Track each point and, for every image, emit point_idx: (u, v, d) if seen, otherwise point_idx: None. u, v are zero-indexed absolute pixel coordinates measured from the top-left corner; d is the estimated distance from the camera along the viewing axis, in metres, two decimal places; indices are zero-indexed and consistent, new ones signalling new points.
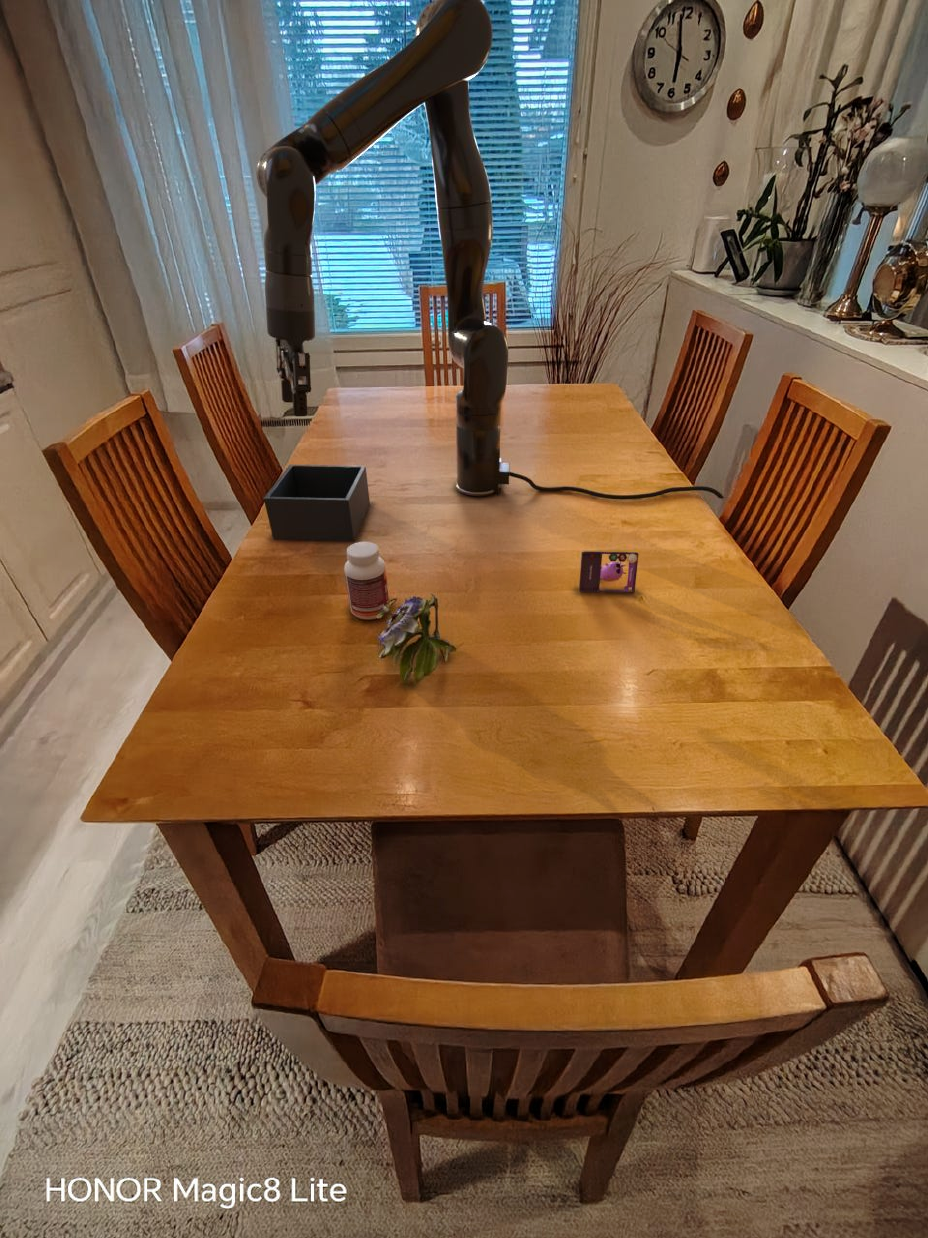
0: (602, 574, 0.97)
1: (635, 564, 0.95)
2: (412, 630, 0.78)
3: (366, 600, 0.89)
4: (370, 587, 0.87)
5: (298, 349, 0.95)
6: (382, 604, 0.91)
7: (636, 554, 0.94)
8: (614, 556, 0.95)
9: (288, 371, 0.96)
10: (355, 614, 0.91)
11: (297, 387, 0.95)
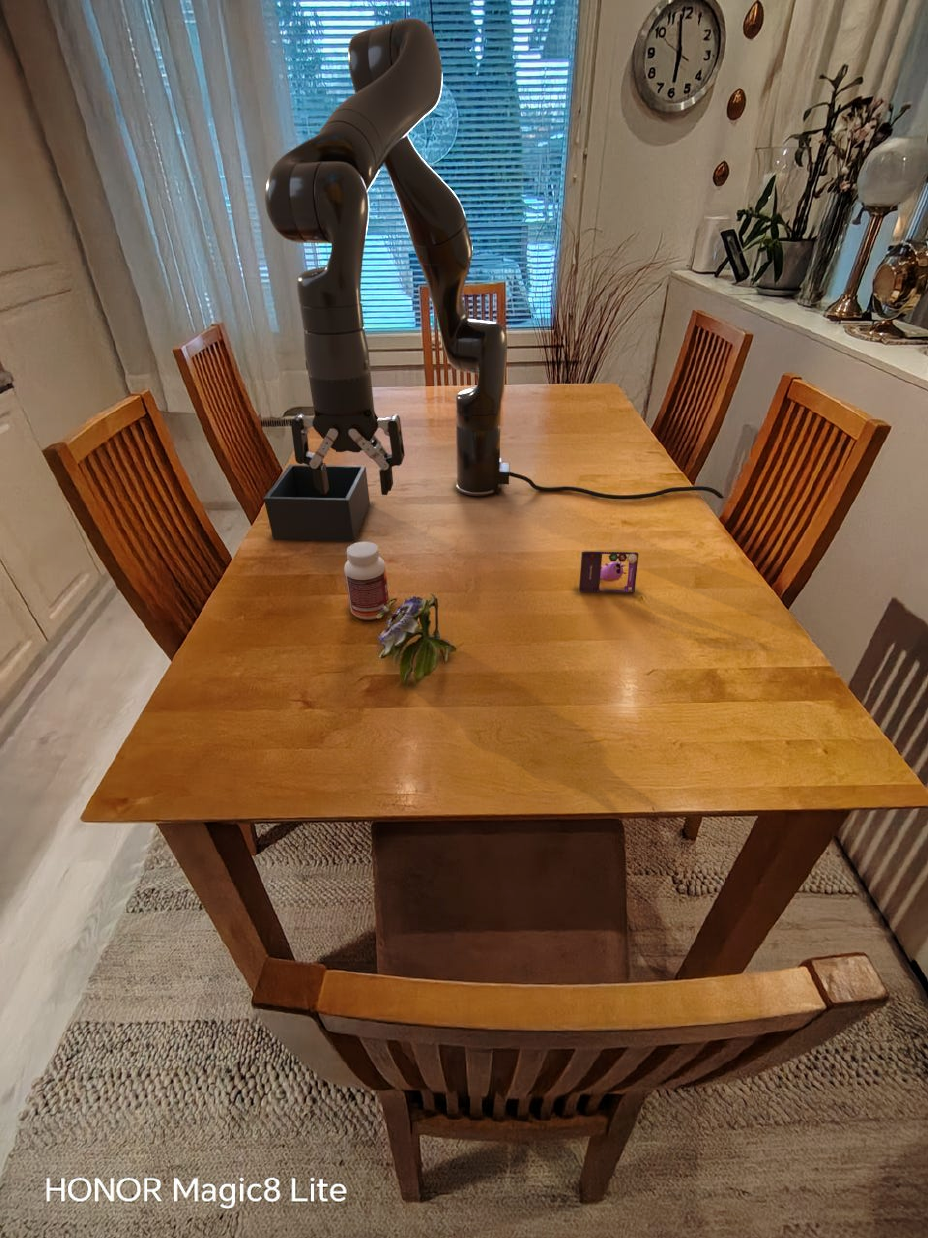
0: (602, 574, 0.97)
1: (635, 564, 0.95)
2: (412, 630, 0.78)
3: (366, 599, 0.89)
4: (370, 587, 0.87)
5: (374, 417, 0.75)
6: (382, 604, 0.91)
7: (636, 554, 0.94)
8: (614, 556, 0.95)
9: (373, 448, 0.76)
10: (355, 614, 0.91)
11: (402, 458, 0.77)
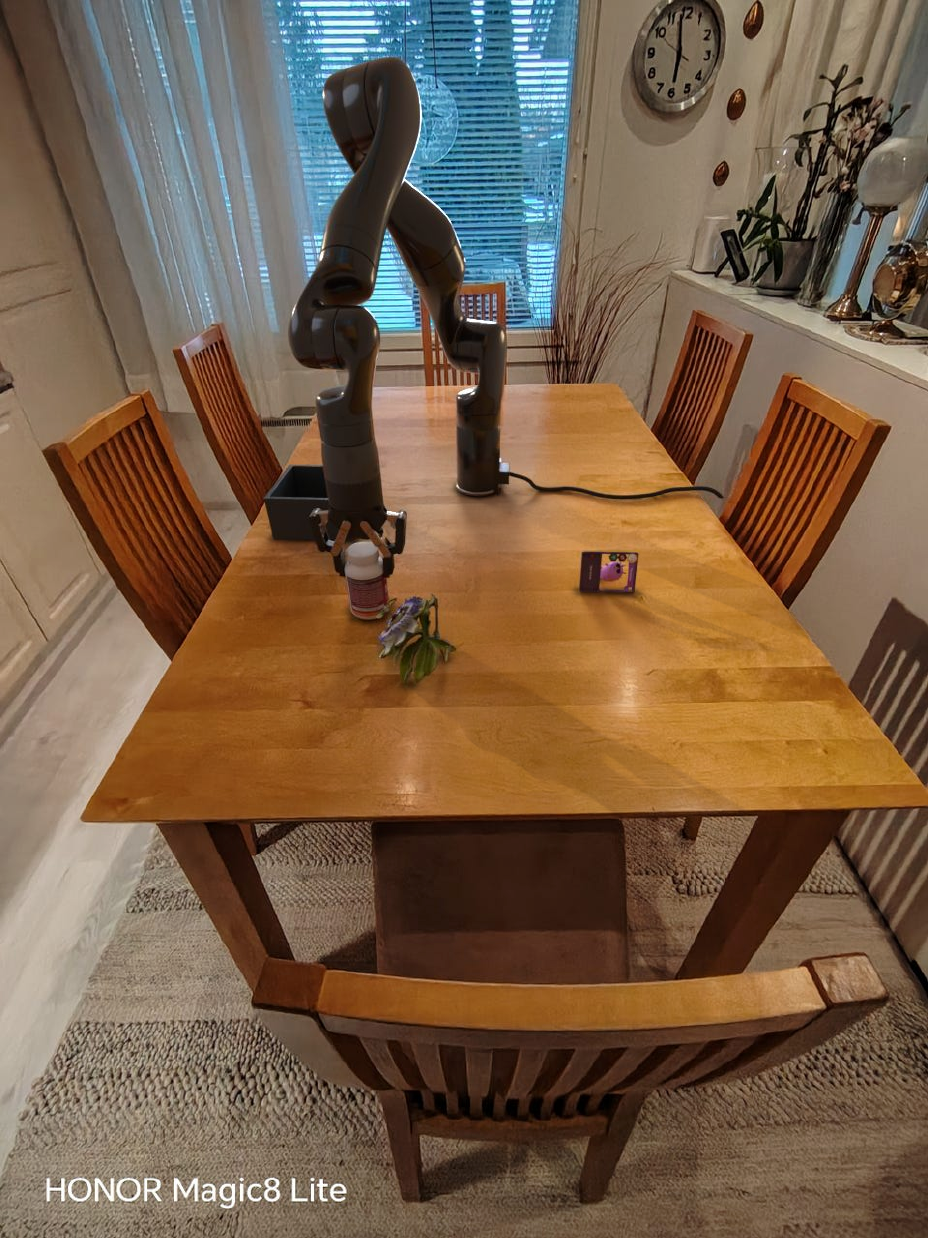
0: (602, 574, 0.97)
1: (635, 564, 0.95)
2: (412, 630, 0.78)
3: (366, 599, 0.89)
4: (370, 587, 0.87)
5: (384, 510, 0.83)
6: (382, 604, 0.91)
7: (636, 554, 0.94)
8: (614, 556, 0.95)
9: (380, 539, 0.84)
10: (355, 614, 0.91)
11: (402, 548, 0.85)
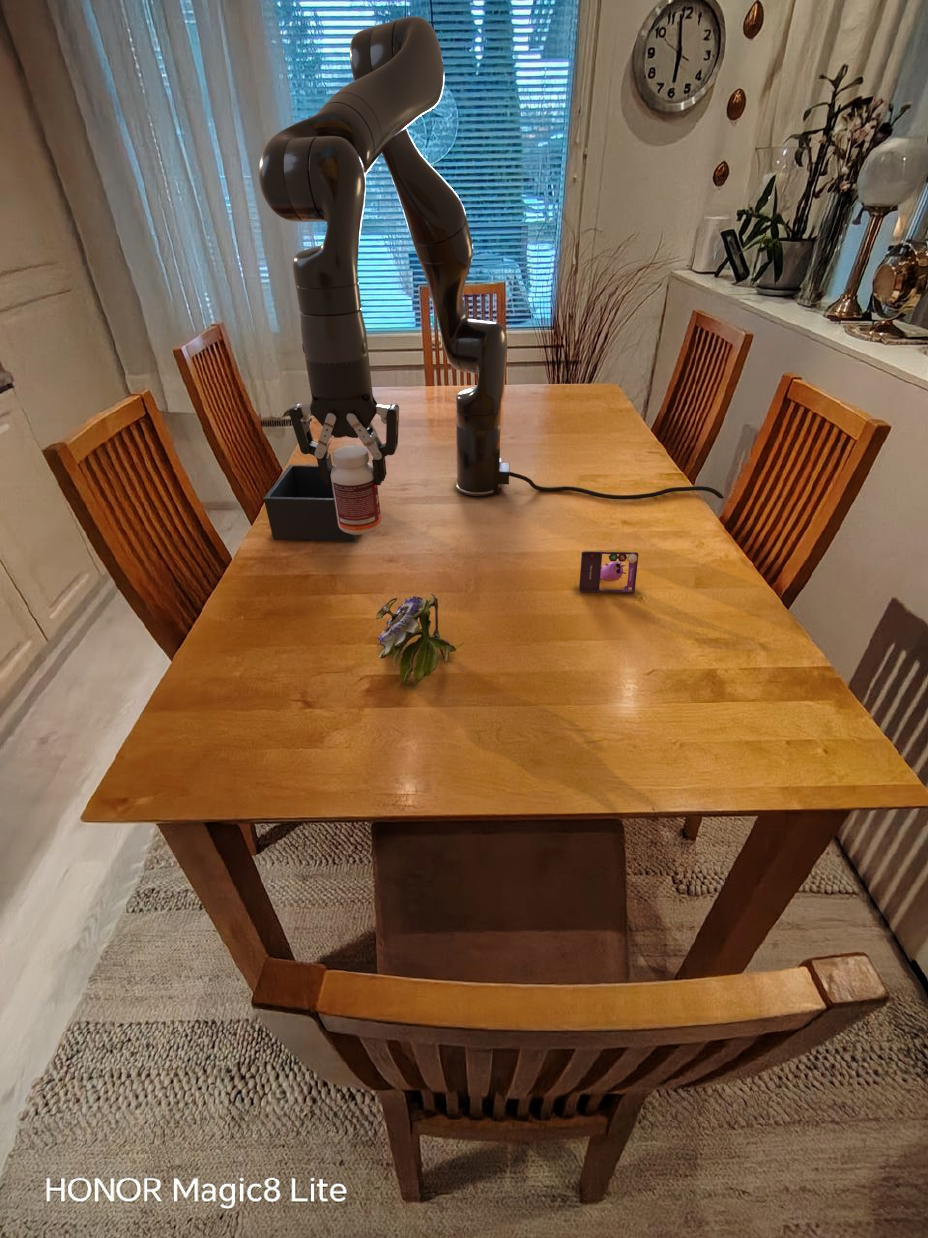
0: (602, 574, 0.97)
1: (635, 564, 0.95)
2: (412, 630, 0.78)
3: (354, 510, 0.80)
4: (359, 494, 0.79)
5: (373, 402, 0.74)
6: (373, 516, 0.82)
7: (636, 554, 0.94)
8: (614, 556, 0.95)
9: (369, 436, 0.75)
10: (343, 529, 0.82)
11: (395, 448, 0.76)
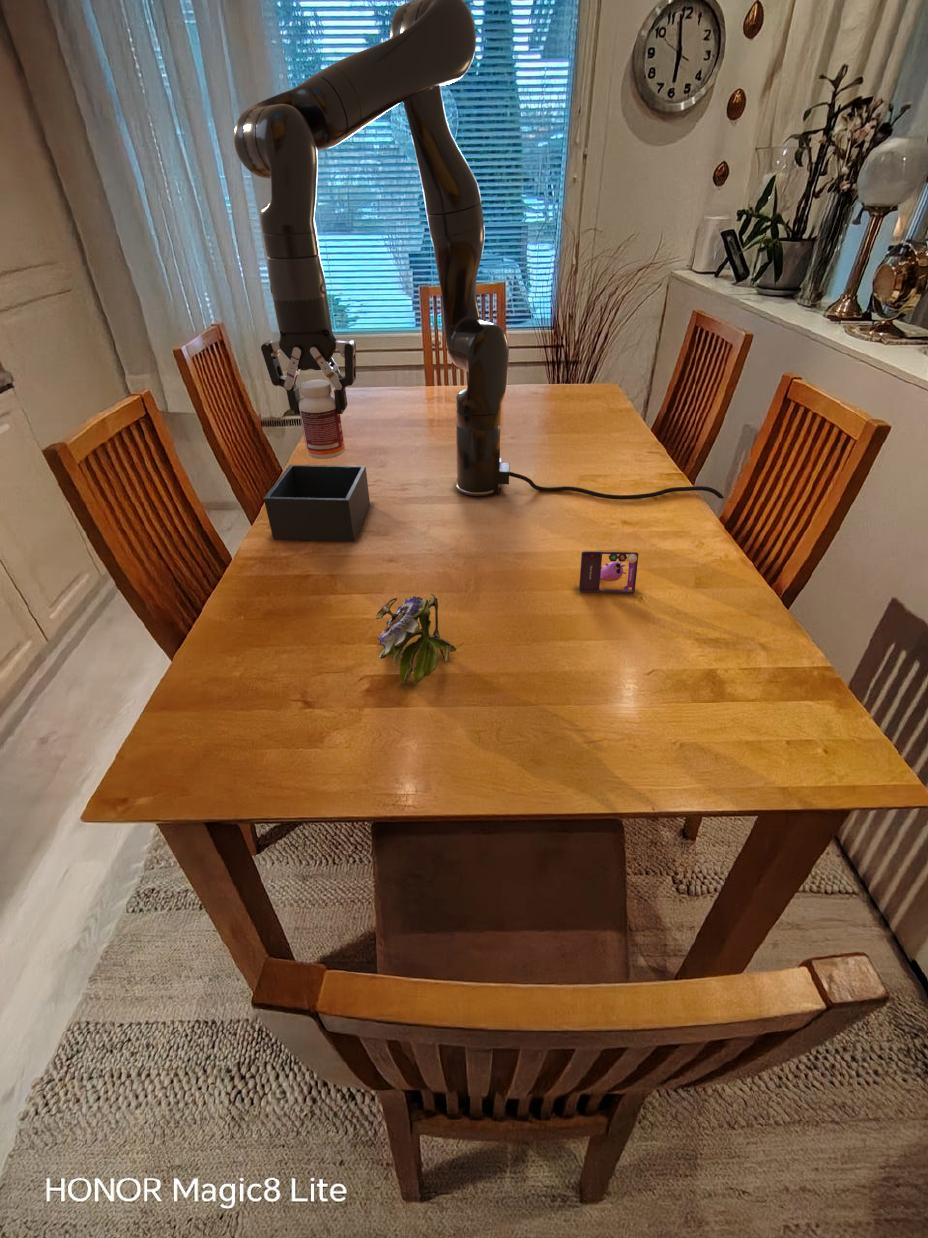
0: (602, 574, 0.97)
1: (635, 564, 0.95)
2: (412, 630, 0.78)
3: (320, 435, 0.92)
4: (323, 421, 0.91)
5: (333, 338, 0.86)
6: (336, 442, 0.94)
7: (636, 554, 0.94)
8: (614, 556, 0.95)
9: (330, 368, 0.87)
10: (311, 454, 0.95)
11: (353, 379, 0.89)
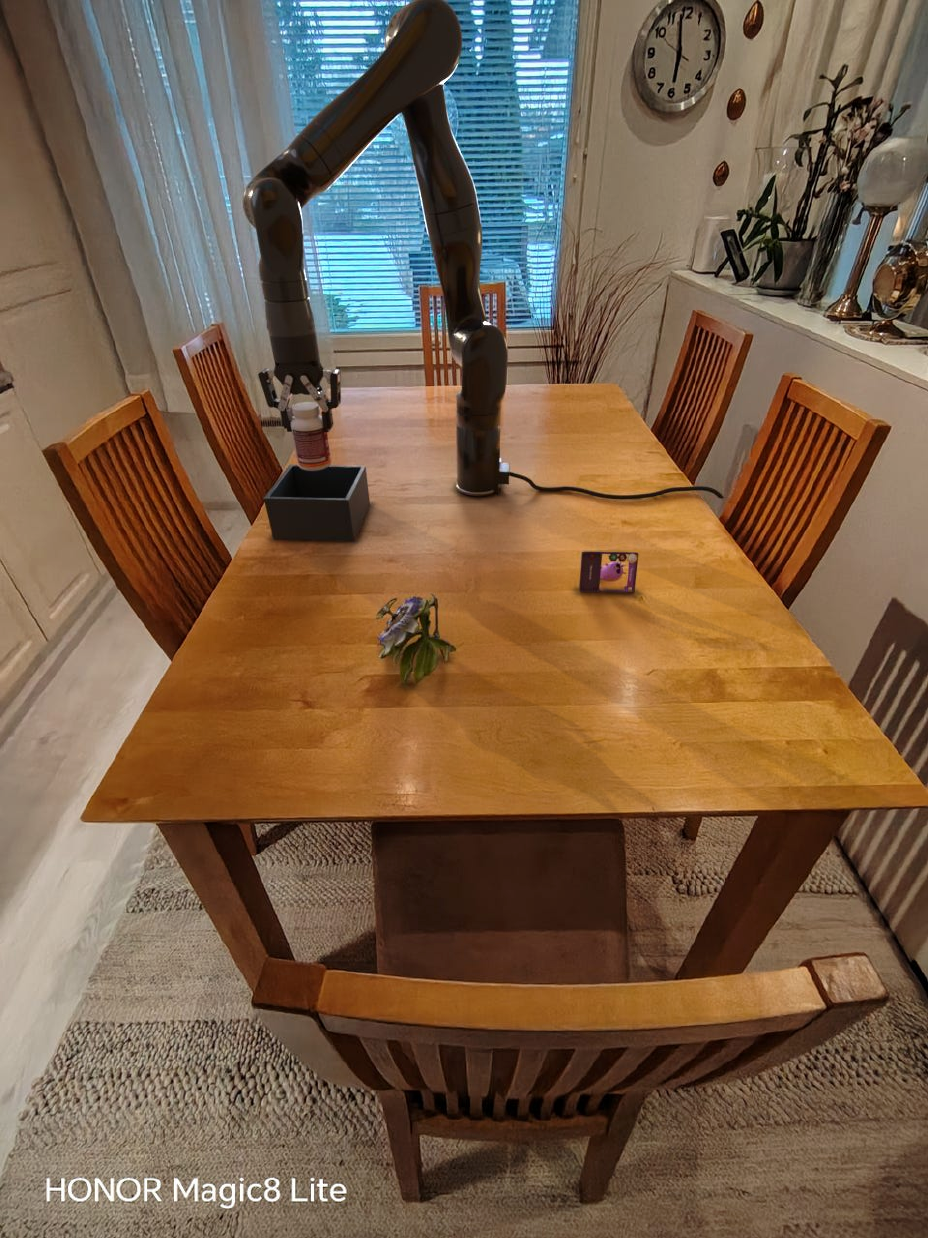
0: (602, 574, 0.97)
1: (635, 564, 0.95)
2: (412, 630, 0.78)
3: (309, 450, 1.06)
4: (312, 438, 1.04)
5: (320, 367, 1.00)
6: (323, 457, 1.07)
7: (636, 554, 0.94)
8: (614, 556, 0.95)
9: (318, 393, 1.01)
10: (301, 467, 1.08)
11: (337, 402, 1.02)
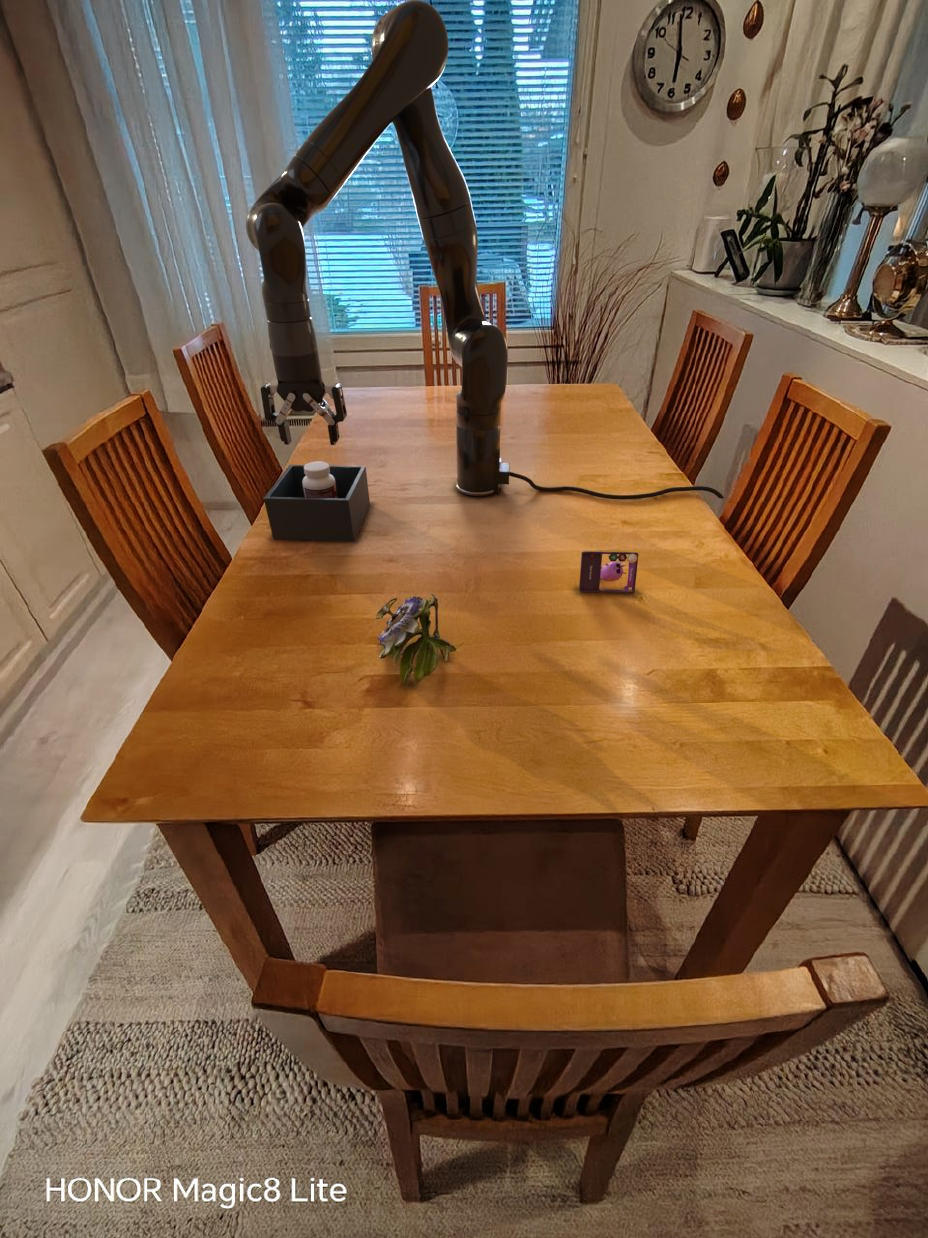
0: (602, 574, 0.97)
1: (635, 564, 0.95)
2: (412, 630, 0.78)
3: None
4: (322, 496, 1.11)
5: (322, 384, 1.01)
6: None
7: (636, 554, 0.94)
8: (614, 556, 0.95)
9: (322, 408, 1.02)
10: None
11: (344, 416, 1.03)
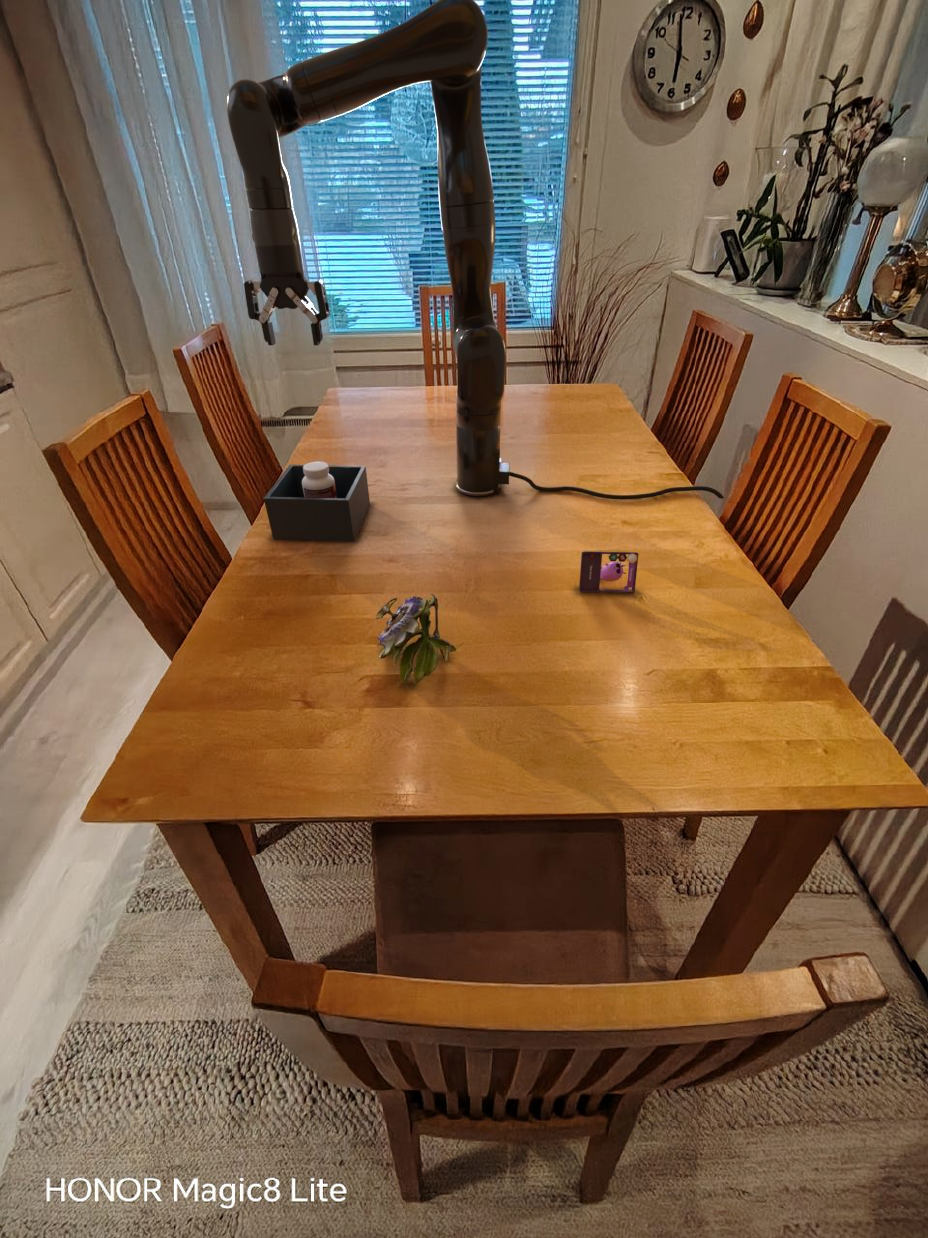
0: (602, 574, 0.97)
1: (635, 564, 0.95)
2: (412, 630, 0.78)
3: None
4: (322, 496, 1.11)
5: (304, 280, 1.03)
6: None
7: (636, 554, 0.94)
8: (614, 556, 0.95)
9: (304, 304, 1.03)
10: None
11: (326, 313, 1.05)
